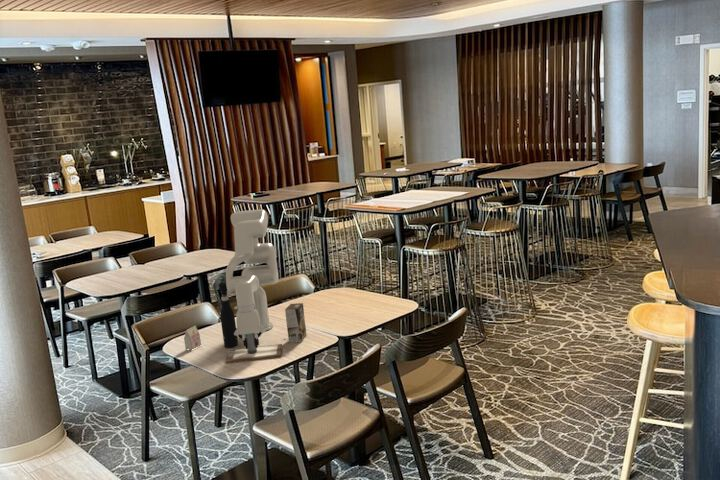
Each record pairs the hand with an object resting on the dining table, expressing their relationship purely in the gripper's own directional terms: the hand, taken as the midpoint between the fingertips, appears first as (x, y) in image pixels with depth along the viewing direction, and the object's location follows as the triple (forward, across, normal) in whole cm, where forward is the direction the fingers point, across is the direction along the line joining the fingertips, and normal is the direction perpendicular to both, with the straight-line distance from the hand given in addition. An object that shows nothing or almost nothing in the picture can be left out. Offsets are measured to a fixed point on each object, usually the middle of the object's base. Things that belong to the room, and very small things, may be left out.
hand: (251, 346), depth 295 cm
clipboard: (+4, +1, 0) cm, 4 cm away
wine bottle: (+4, -11, +15) cm, 19 cm away
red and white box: (+4, -29, +18) cm, 34 cm away
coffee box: (+4, +20, +14) cm, 25 cm away
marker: (+2, 0, 0) cm, 2 cm away
